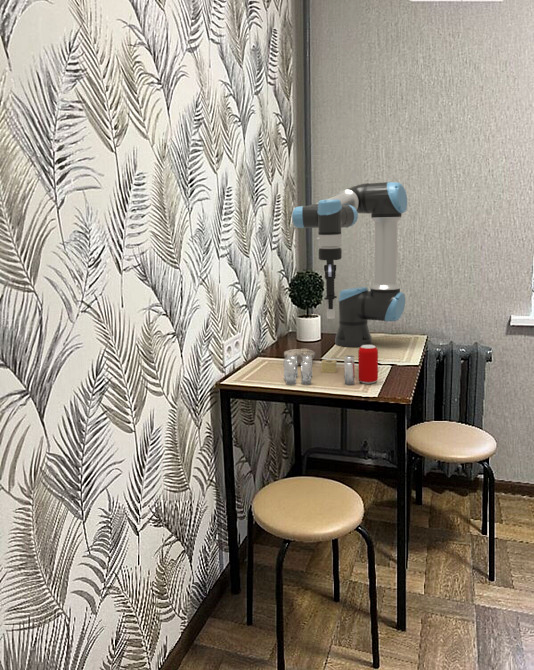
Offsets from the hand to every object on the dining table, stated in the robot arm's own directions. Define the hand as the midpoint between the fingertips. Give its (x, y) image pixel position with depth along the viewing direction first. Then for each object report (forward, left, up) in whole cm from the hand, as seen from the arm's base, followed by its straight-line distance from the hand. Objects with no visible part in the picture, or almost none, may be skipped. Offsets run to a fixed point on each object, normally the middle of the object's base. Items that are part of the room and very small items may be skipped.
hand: (330, 318), depth 207 cm
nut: (-5, -1, -20) cm, 20 cm away
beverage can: (+9, +12, -20) cm, 25 cm away
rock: (-15, -13, -20) cm, 28 cm away
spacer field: (+7, -1, -20) cm, 21 cm away
